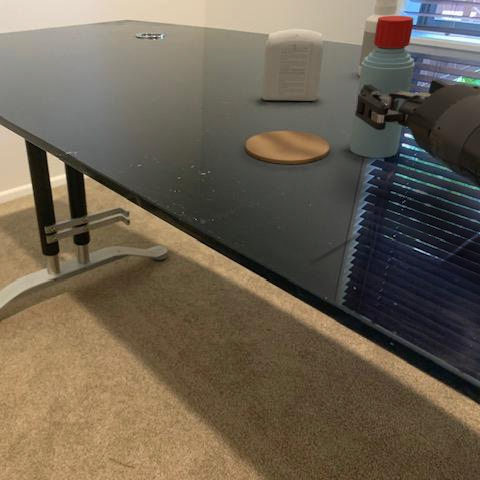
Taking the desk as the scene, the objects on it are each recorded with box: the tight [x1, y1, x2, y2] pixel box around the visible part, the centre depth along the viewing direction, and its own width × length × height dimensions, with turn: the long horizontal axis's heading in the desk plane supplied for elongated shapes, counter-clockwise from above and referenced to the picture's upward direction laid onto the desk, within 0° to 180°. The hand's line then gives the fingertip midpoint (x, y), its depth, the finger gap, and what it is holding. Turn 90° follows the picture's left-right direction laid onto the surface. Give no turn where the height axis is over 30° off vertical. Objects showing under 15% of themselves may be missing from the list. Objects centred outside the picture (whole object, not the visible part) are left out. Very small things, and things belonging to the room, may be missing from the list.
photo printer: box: [261, 28, 324, 102], centre depth 92 cm, size 10×4×12 cm, turn 78°
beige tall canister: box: [357, 0, 399, 77], centre depth 102 cm, size 7×7×18 cm
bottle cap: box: [374, 15, 415, 48], centre depth 64 cm, size 4×4×3 cm
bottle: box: [348, 46, 416, 159], centre depth 68 cm, size 6×6×17 cm
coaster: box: [244, 130, 330, 165], centre depth 74 cm, size 12×12×1 cm
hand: (398, 90), depth 64 cm, fingers open, 8 cm apart
